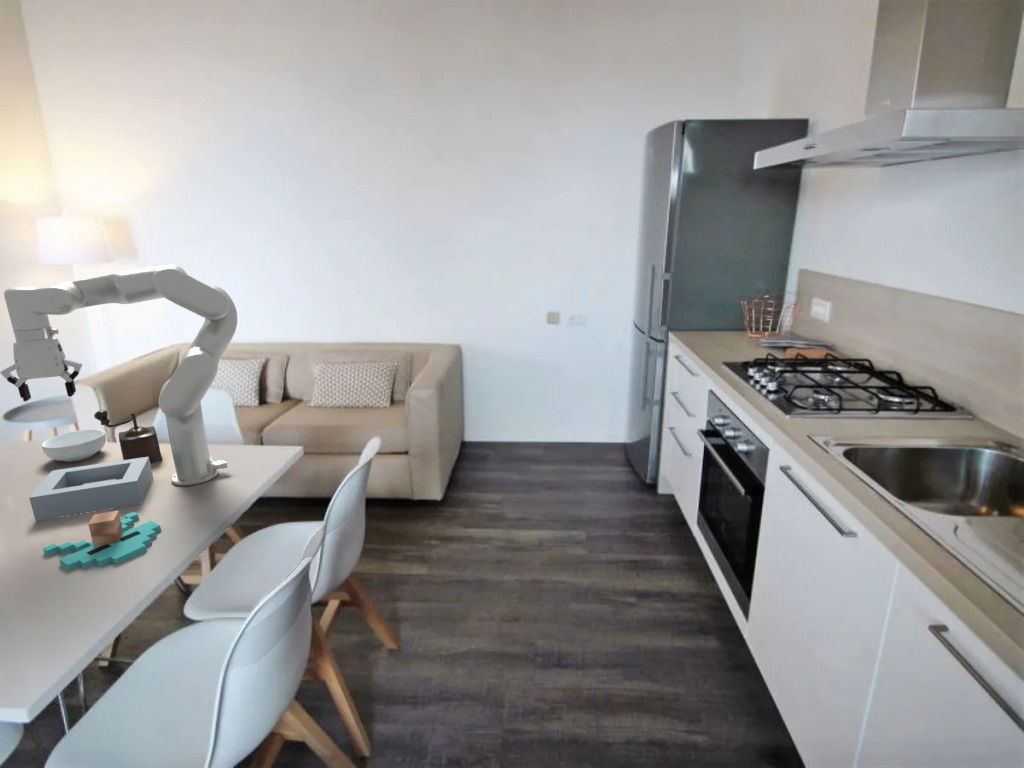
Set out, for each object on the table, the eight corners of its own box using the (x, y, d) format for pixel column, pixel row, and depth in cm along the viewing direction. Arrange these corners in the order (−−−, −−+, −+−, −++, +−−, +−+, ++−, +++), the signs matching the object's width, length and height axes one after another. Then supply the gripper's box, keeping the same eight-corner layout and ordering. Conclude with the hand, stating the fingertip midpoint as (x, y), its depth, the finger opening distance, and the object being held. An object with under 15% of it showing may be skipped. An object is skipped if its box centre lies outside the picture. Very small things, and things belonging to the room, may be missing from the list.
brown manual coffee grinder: (159, 450, 194) (149, 400, 189) (163, 461, 185) (152, 409, 180) (105, 461, 185) (92, 410, 180) (105, 473, 177) (93, 419, 172)
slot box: (153, 477, 173) (148, 456, 171) (141, 503, 157) (136, 480, 155) (57, 492, 164) (52, 470, 162) (35, 521, 148) (29, 497, 146)
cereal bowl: (108, 443, 201) (104, 425, 199) (110, 458, 188) (105, 439, 186) (47, 455, 191) (42, 436, 189) (45, 472, 178) (39, 451, 176)
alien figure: (45, 556, 134) (83, 583, 124) (42, 548, 134) (81, 574, 123) (135, 519, 151) (175, 540, 140) (133, 511, 150) (174, 532, 140)
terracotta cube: (123, 532, 140) (118, 510, 138) (118, 542, 136) (113, 520, 134) (99, 536, 138) (94, 514, 137) (93, 546, 134) (88, 524, 132)
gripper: (78, 329, 153) (92, 389, 158) (-2, 335, 147) (15, 397, 152) (69, 334, 147) (84, 397, 152) (-15, 340, 140) (3, 406, 145)
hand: (49, 397), depth 152 cm, fingers open, 9 cm apart
